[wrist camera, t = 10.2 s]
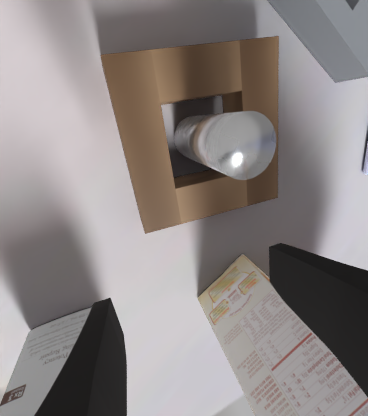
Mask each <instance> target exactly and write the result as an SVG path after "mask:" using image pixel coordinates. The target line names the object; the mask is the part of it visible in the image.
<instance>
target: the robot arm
mask: <svg viewBox="0 0 368 416" xmlns="http://www.w3.org/2000/svg"><path fill="white" fill-rule="evenodd" d="M363 173H364V174H365V175H368V143H367V150H366V156H365V163H364V169H363ZM269 267H270V283H271V285H272V286H273V287H274V289H275V290H276V292H277V293H278V294H279V296H280V297H281V298H282V300H283V301H284V302H285V303H286V304H287V305H288V306H289V307H290V308H291V309H292V311H293V312H294V313H295V314H296V315H297V316H298V317H299V318H300V319H301V320H302V321H303V322H304V323H305V324H306V325H307V326H308V327H309V328H310V329H311V330H312V332H313V333H314V334H315V335H316V336H317V337H318V338H319V339H320V340H321V341H322V342H323V343H324V344H325V345H326V346H327V347H328V349H329V350H330V351H331V352H332V353H333V354H334V355H335V357H336V358H337V359H338V360H339V362H340V363H341V364H342V365H343V367H344V368H345V369H346V370H347V371H348V373H349V374H350V375H351V376H352V378H353V379H354V380H355V382H356V383H357V384H358V385H359V387H360V388H361V389H362V391H363V392H364V393H365V395H366V396H367V397H368V271H367V270H364V269H360V268H357V267H353V266H350V265H347V264H343V263H340V262H337V261H334V260H331V259H328V258H325V257H322V256H319V255H316V254H313V253H310V252H307V251H304V250H301V249H298V248H295V247H292V246H289V245H286V244H282V243H280V244H277V245H274V246H270V247H269ZM34 416H127V364H126V351H125V342H124V334H123V331H122V328H121V326H120V323H119V320H118V317H117V315H116V312H115V309H114V306H113V304H112V301H111V298H108V299H105V300H102V301H98V302H95V303H94V304H93V306H92V308H91V310H90V313H89V315H88V317H87V319H86V322H85V324H84V326H83V328H82V330H81V332H80V334H79V336H78V338H77V340H76V342H75V344H74V346H73V348H72V350H71V352H70V354H69V356H68V358H67V360H66V362H65V364H64V365H63V367H62V369H61V371H60V373H59V374H58V376H57V378H56V380H55V382H54V383H53V385H52V387H51V389H50V390H49V392H48V394H47V395H46V397H45V399H44V400H43V402H42V404H41V405H40V407H39V409H38V410H37V412H36V413H35V415H34Z"/></svg>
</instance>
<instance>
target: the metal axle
mask: <svg viewBox="0 0 368 416" xmlns="http://www.w3.org/2000/svg"><path fill="white" fill-rule="evenodd" d="M174 142H175V145H176V148H177V150H178V151H179V152H180V153H181V154H182V155H183V156H185V157H188V158H190V159H192V160H194V161H196V162H199V163H201V164H203V165H205V166H208V167H210V168H212V169H214V170H216V171H219V172H221V173H223V174H225V175H228V176H230V177H232V178H234V179H238V180H247V179H251V178H254V177H256V176H257V175H259V174H260V173H262V172H263V171H264V170H265V169H266V168H267V166H268V165H269V163H270V162H271V160H272V158H273V155H274V153H275V148H276V133H275V130H274V127H273V125H272V123H271V122H270V120H269V119H268V118H267V117H266V116H265V115H263V114H261V113H259V112H256V111H242V112H231V113H221V114H210V115H199V116H190V117H187V118H185V119H183V120H182V121H181V122H180V123H179V124H178V126H177V127H176V130H175V134H174Z"/></svg>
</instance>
